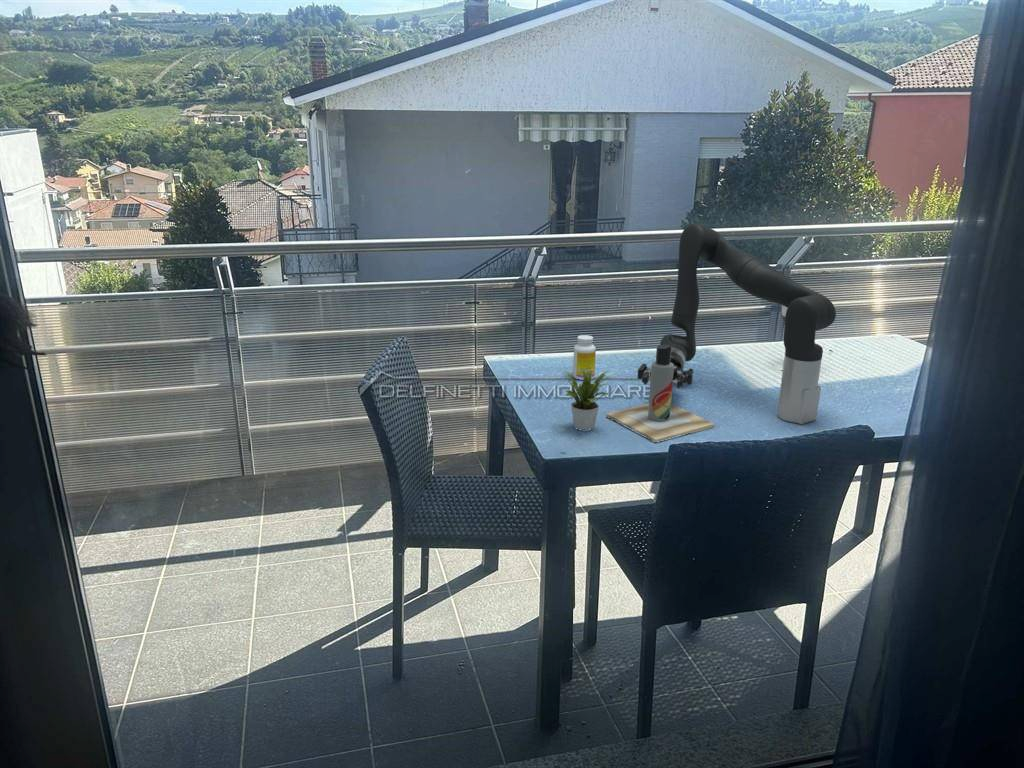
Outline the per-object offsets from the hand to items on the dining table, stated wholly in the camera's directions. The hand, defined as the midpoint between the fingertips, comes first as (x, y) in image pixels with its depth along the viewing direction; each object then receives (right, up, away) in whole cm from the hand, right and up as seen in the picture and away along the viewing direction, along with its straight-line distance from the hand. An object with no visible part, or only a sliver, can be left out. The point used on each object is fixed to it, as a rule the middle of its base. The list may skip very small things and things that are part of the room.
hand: (661, 382), depth 204 cm
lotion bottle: (0, -9, +5) cm, 11 cm away
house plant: (-19, -12, 0) cm, 23 cm away
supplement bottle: (-17, +2, +38) cm, 42 cm away
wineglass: (+50, +5, +48) cm, 69 cm away
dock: (0, -10, +5) cm, 12 cm away
